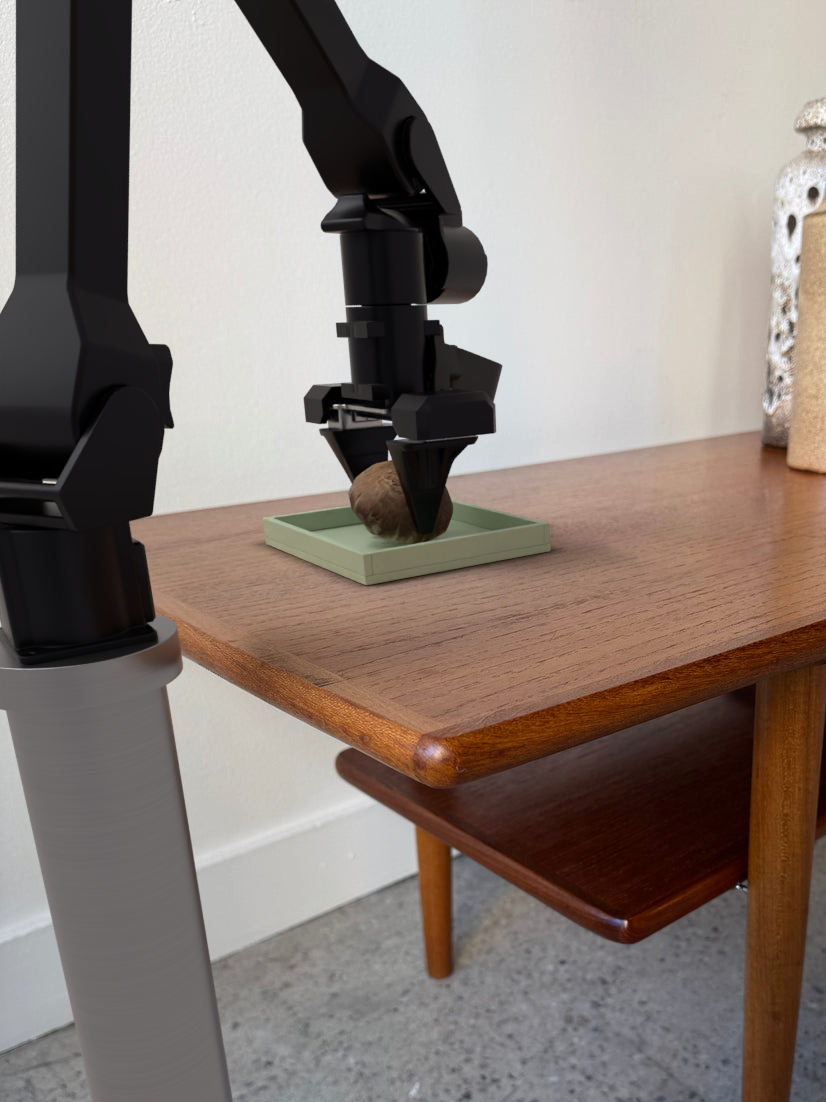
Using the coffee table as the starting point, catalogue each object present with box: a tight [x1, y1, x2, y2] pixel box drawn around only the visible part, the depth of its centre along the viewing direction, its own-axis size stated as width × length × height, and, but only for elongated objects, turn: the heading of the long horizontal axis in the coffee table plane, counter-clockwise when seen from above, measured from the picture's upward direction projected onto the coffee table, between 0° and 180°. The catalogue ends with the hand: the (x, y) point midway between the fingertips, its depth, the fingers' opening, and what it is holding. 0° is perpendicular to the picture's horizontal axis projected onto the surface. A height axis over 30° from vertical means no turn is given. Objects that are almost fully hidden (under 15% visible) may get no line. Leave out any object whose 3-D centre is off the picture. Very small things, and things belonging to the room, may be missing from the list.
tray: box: [262, 498, 552, 586], centre depth 79 cm, size 15×17×2 cm
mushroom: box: [347, 459, 453, 545], centre depth 78 cm, size 8×8×6 cm
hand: (401, 526), depth 79 cm, fingers closed on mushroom, 7 cm apart
